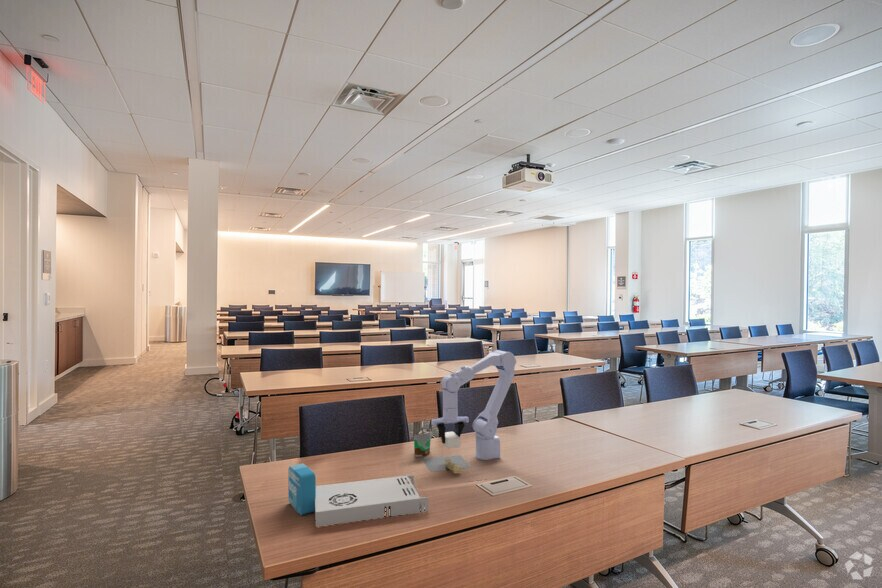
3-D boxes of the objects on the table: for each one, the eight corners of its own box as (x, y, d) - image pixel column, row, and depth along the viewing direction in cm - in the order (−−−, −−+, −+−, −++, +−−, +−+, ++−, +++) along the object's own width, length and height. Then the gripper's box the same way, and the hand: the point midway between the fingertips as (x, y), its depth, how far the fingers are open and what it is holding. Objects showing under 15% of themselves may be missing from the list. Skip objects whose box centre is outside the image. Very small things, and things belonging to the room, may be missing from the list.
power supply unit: (428, 513, 140) (428, 497, 140) (315, 530, 131) (315, 512, 131) (413, 489, 158) (413, 474, 158) (314, 501, 149) (314, 486, 149)
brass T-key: (443, 468, 172) (443, 460, 172) (450, 466, 174) (449, 458, 174) (454, 475, 166) (454, 466, 166) (461, 473, 167) (461, 465, 167)
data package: (288, 502, 147) (288, 464, 147) (302, 499, 149) (302, 461, 149) (301, 517, 137) (301, 476, 137) (316, 513, 140) (315, 473, 140)
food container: (428, 461, 183) (428, 435, 183) (413, 460, 185) (413, 435, 185) (435, 450, 195) (435, 427, 195) (421, 450, 197) (421, 426, 197)
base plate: (459, 457, 187) (459, 454, 187) (471, 469, 174) (471, 467, 174) (421, 461, 183) (421, 458, 183) (430, 474, 169) (430, 471, 169)
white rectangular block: (453, 440, 185) (453, 431, 185) (460, 447, 176) (460, 438, 176) (441, 441, 183) (441, 432, 183) (447, 448, 174) (447, 439, 175)
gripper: (464, 403, 185) (464, 437, 185) (429, 406, 181) (429, 440, 181) (470, 407, 179) (470, 442, 179) (434, 410, 175) (434, 446, 175)
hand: (450, 442), depth 180 cm, fingers closed on white rectangular block, 5 cm apart
